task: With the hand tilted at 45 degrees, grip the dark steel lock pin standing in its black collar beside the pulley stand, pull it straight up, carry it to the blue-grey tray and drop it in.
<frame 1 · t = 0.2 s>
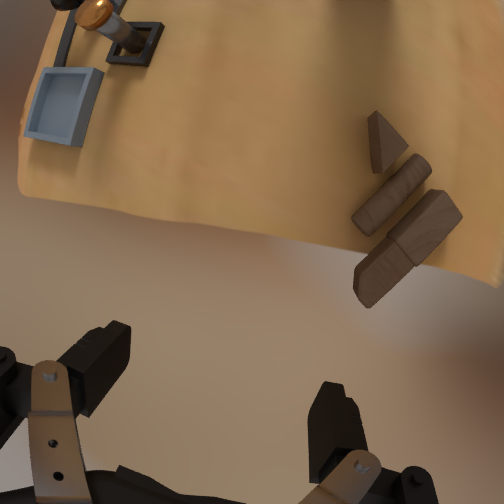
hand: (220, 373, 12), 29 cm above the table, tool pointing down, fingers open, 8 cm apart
pulley stand: (108, 9, 34), on the table
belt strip: (68, 35, 36), on the table
lock pin: (115, 28, 29), in the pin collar
wooden block set: (370, 207, 38), on the table
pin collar: (136, 44, 36), on the table
tray: (66, 105, 39), on the table
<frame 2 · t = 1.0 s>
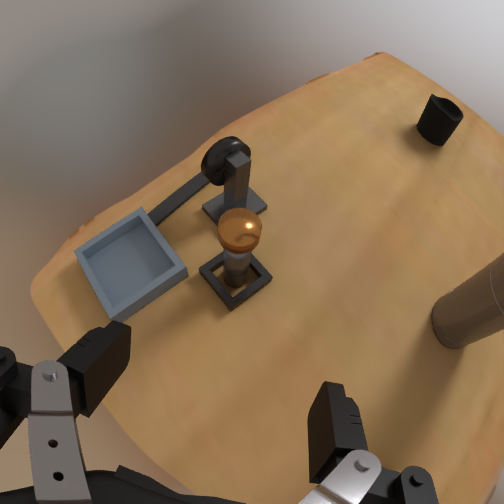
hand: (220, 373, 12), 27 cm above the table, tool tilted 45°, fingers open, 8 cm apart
pulley stand: (234, 208, 48), on the table
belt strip: (182, 195, 49), on the table
lock pin: (237, 255, 37), in the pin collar
pen holder: (430, 134, 65), on the table
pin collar: (235, 277, 43), on the table
tray: (131, 268, 42), on the table
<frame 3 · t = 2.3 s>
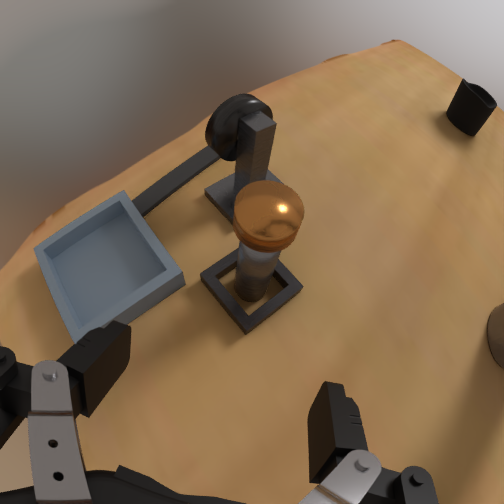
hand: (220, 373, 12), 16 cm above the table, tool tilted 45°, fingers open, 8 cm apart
pulley stand: (247, 195, 36), on the table
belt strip: (179, 178, 37), on the table
lock pin: (258, 255, 25), in the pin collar
pen holder: (460, 123, 54), on the table
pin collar: (250, 286, 31), on the table
tray: (107, 272, 30), on the table
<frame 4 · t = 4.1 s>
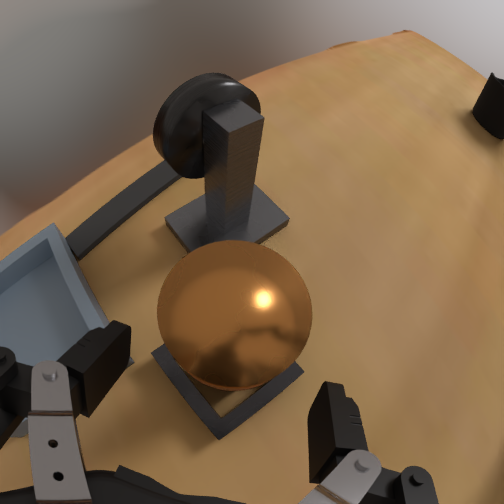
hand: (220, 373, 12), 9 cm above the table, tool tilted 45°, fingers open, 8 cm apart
pulley stand: (226, 224, 25), on the table
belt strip: (134, 199, 26), on the table
lock pin: (229, 350, 14), in the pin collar
pen holder: (487, 124, 43), on the table
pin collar: (226, 367, 20), on the table
tray: (38, 336, 19), on the table
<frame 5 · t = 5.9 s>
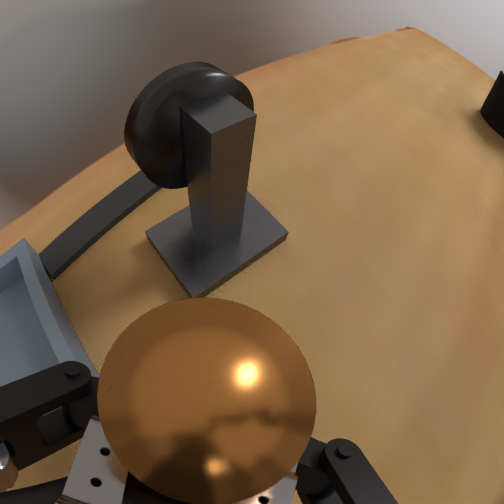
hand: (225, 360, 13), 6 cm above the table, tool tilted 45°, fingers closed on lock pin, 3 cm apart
pulley stand: (216, 238, 22), on the table
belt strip: (113, 210, 23), on the table
lock pin: (212, 405, 11), in the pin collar, touching gripper
pen holder: (496, 125, 40), on the table
tray: (12, 363, 16), on the table
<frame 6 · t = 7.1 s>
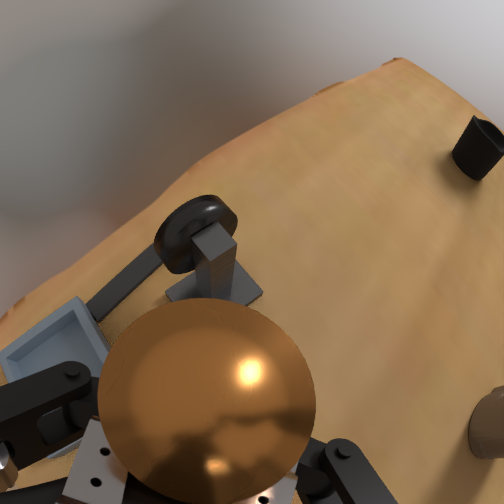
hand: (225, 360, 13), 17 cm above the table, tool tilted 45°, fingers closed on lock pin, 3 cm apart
pulley stand: (214, 295, 32), on the table
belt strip: (139, 271, 32), on the table
lock pin: (212, 405, 11), point 18 cm above the table, touching gripper
pen holder: (466, 165, 50), on the table
tray: (70, 381, 25), on the table
when the fingers open (8 cm above the table, at t = 10.8 s): lock pin stays where it is, resting on tray.
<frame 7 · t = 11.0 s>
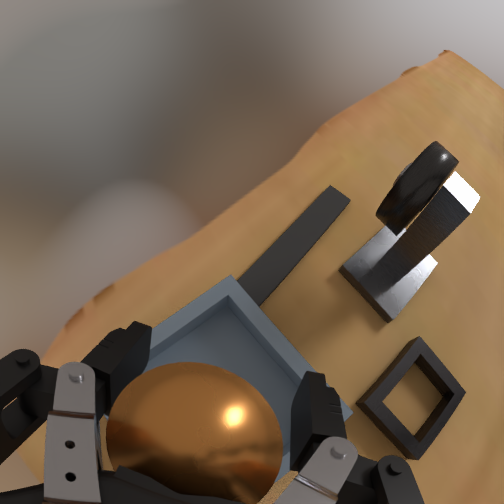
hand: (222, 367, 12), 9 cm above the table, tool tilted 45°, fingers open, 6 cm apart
pulley stand: (389, 269, 25), on the table
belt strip: (296, 242, 26), on the table
lock pin: (207, 424, 12), in the tray, point 7 cm above the table
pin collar: (410, 400, 20), on the table
tray: (215, 406, 19), on the table
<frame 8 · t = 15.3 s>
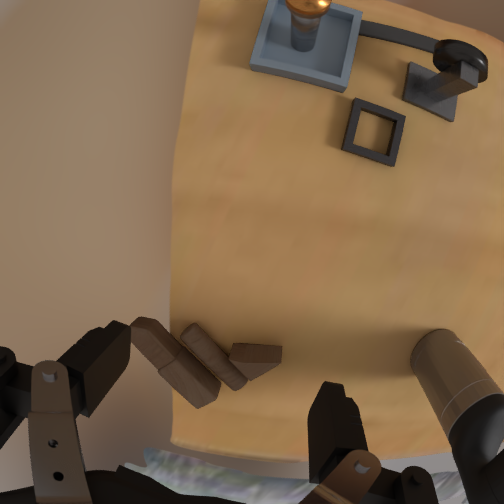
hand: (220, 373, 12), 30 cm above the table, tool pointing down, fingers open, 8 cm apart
pulley stand: (430, 92, 33), on the table
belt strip: (404, 38, 31), on the table
lock pin: (305, 20, 27), in the tray, point 7 cm above the table
wooden block set: (206, 336, 46), on the table
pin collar: (372, 132, 36), on the table
tray: (307, 42, 33), on the table
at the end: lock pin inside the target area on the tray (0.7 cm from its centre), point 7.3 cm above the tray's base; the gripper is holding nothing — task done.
